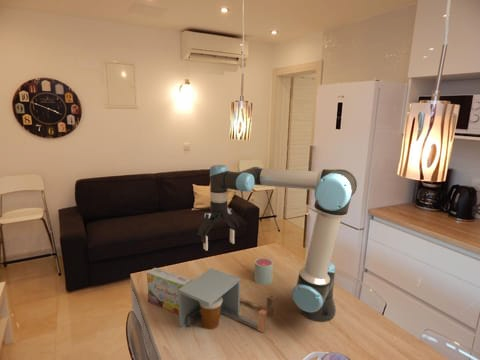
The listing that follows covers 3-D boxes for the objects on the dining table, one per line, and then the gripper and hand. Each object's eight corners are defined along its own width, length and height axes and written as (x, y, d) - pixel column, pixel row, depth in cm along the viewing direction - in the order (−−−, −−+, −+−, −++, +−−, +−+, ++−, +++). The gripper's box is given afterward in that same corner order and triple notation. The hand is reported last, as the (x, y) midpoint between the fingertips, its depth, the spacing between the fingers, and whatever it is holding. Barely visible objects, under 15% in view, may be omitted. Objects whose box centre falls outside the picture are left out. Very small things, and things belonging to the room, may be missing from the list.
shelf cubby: (239, 313, 133) (240, 278, 130) (209, 342, 116) (209, 302, 113) (211, 301, 142) (211, 268, 138) (179, 327, 124) (178, 289, 121)
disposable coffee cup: (219, 333, 121) (219, 306, 119) (195, 330, 123) (195, 303, 120) (225, 318, 130) (225, 292, 128) (203, 315, 132) (203, 289, 130)
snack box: (147, 302, 140) (146, 272, 137) (155, 296, 145) (154, 266, 141) (185, 317, 130) (184, 284, 127) (193, 310, 135) (193, 278, 132)
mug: (267, 286, 155) (268, 268, 152) (251, 281, 159) (251, 263, 157) (278, 274, 166) (279, 257, 164) (263, 270, 171) (264, 253, 169)
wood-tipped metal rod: (266, 329, 124) (267, 311, 122) (244, 354, 110) (245, 335, 109) (212, 305, 138) (212, 289, 137) (187, 325, 125) (186, 308, 123)
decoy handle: (274, 313, 134) (274, 296, 132) (271, 316, 132) (272, 299, 130) (234, 297, 145) (235, 282, 143) (231, 300, 143) (231, 284, 141)
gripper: (238, 194, 145) (238, 237, 150) (188, 202, 132) (190, 249, 136) (247, 198, 139) (246, 242, 144) (196, 207, 126) (197, 255, 130)
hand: (219, 246), depth 140 cm, fingers open, 13 cm apart
